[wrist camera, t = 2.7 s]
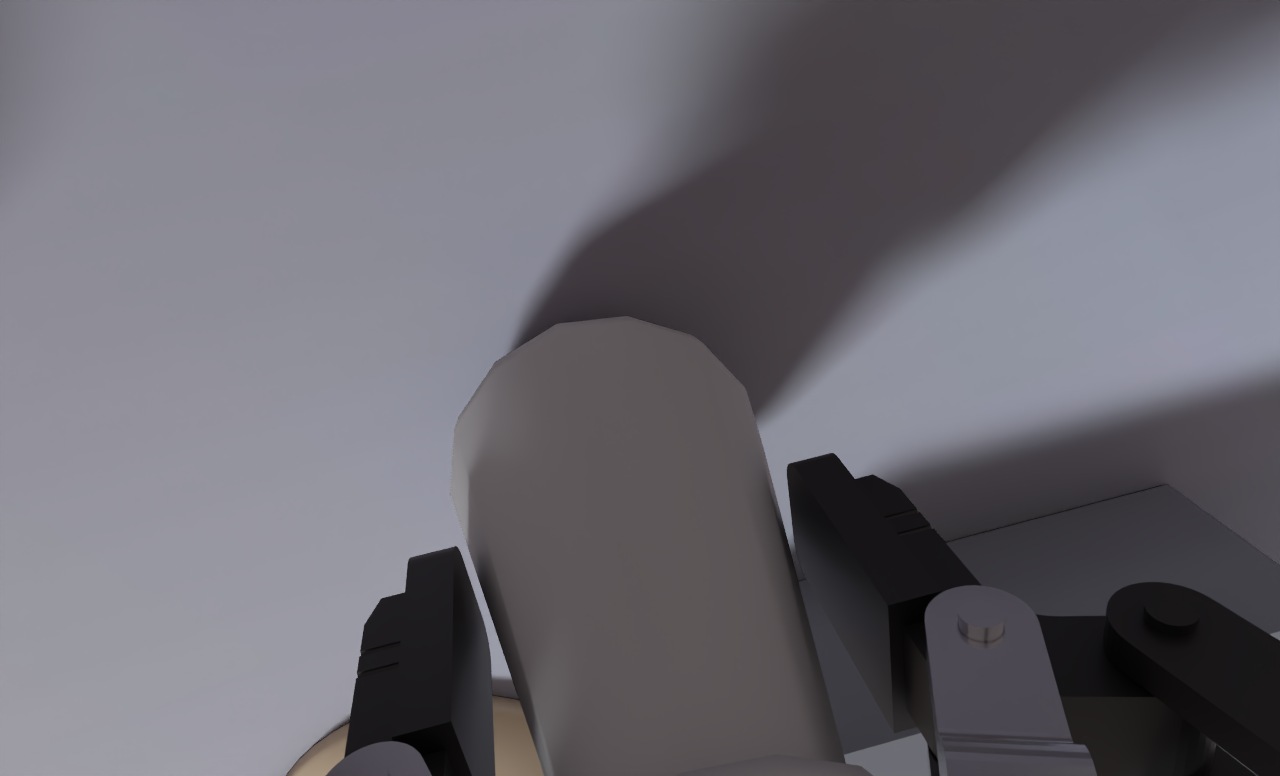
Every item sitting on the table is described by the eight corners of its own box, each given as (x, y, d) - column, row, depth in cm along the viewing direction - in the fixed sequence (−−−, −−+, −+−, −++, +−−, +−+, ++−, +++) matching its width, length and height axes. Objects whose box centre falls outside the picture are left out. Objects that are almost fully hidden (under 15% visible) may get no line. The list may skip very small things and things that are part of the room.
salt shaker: (645, 223, 17) (1060, 794, 5) (768, 437, 19) (1228, 1133, 8) (391, 378, 17) (239, 1234, 5) (546, 567, 20) (665, 1413, 8)
